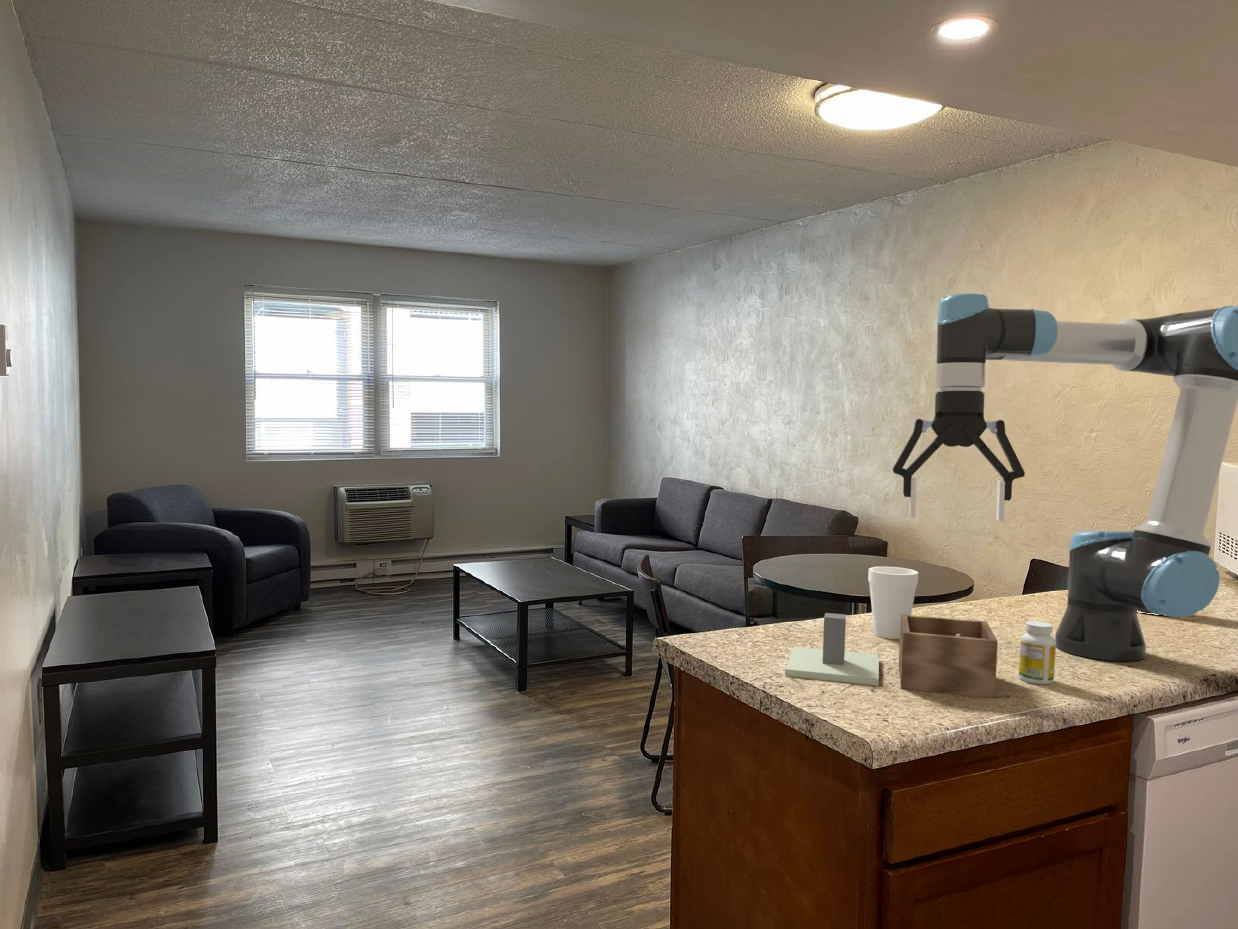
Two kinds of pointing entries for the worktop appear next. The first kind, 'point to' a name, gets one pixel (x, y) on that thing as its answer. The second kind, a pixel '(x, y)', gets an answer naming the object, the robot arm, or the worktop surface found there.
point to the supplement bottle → (1037, 653)
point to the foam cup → (891, 598)
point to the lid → (834, 658)
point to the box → (947, 656)
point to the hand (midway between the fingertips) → (955, 518)
